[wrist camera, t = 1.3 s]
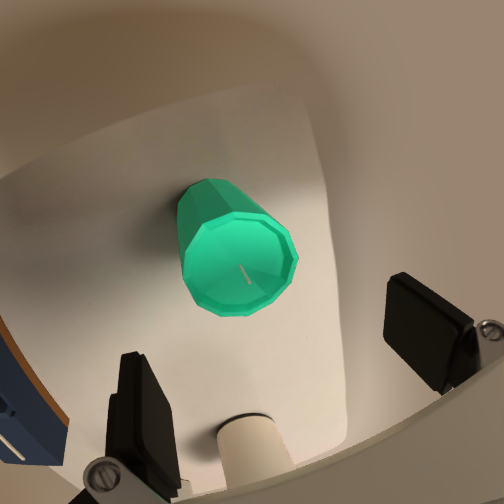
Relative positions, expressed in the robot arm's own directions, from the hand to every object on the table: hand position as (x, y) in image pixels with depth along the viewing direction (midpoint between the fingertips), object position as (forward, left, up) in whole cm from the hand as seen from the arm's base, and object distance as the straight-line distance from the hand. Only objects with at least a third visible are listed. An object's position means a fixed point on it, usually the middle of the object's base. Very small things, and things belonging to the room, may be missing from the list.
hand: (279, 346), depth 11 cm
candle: (0, 0, -17) cm, 17 cm away
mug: (+30, -3, -17) cm, 34 cm away
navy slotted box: (+10, -28, -16) cm, 34 cm away
